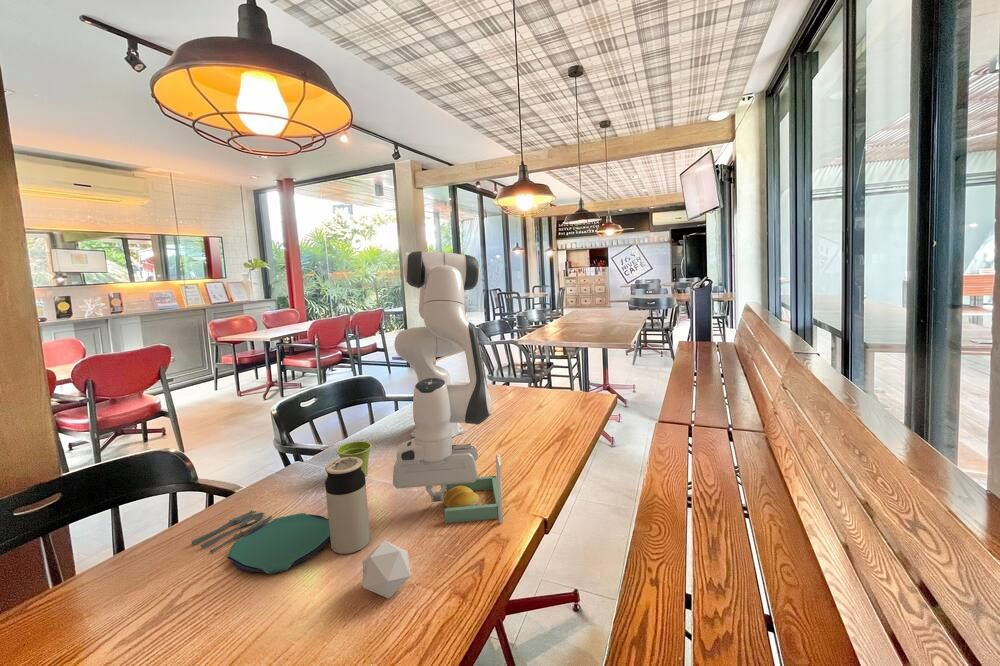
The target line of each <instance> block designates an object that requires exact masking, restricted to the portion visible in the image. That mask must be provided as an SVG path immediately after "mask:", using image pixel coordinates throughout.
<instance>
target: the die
mask: <svg viewBox="0 0 1000 666" xmlns="http://www.w3.org/2000/svg"><path fill="white" fill-rule="evenodd" d="M361 562H362V582H363V583H362V586H363V587H362V588H364V589H366V590H368V591H370V592H373V593H374V594H377V595H379V596H381V597H384V598H386V599H388V600H389V599H391V597H392V596H393V595H394V594H396V592H398V590H399V589H400V588H401V587H402V586H403V585H404V584H405V583H406V582H407V581H408V580H409V579H410V578H411V577H412V575H411V569H410V568H411V567H410V560H409V551H408V550H405V549H404V548H402V547H399V546H397V545H395V544H393V543H391V542H389V541H387V540H385V539H384V540H383V541H381V542H380V543H379V544H378V545H377V547H375V548H374V549H373V550H372V551H371V552H370V553H369V554H368V555H367V556H365V558H364V559H363V560H362V561H361Z"/></svg>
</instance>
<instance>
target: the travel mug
mask: <svg viewBox="0 0 1000 666" xmlns="http://www.w3.org/2000/svg"><path fill="white" fill-rule="evenodd" d="M362 463H363V461H362V460H361V459H360V458H357V457H344V458H340V457H339V458H337V459H333V460H331V461H330V462H328V463H327V464H325V466H324V471H325V472H326V475H327V477H326V478H325V481H324V485H325V487H324V488H325V497H326V498H325V499H326V507H327V516H328V518H327V519H329V529H330V545H331V550H332V551H333V552H335V553H336V554H340V555H342V554H344V555H345V554H352V553H356V552H358V551H359V550H361V549H364V548H365V547H366V546H367V545H368V544H369V543H370V541H371V531H370V530H371V529H370V519H369V507H368V506H369V505H368V496H367V495H368V492H367V484H366V483H367V482H366V477H365V474H364V473H363V471H362V470H361V465H362Z"/></svg>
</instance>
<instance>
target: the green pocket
mask: <svg viewBox="0 0 1000 666" xmlns="http://www.w3.org/2000/svg"><path fill="white" fill-rule="evenodd" d="M501 461H502V460H501V455H500V454H496V455H495V467H496V468H495V470H496V471H495V472H496V475H491V476H490V475H489V476H477V480H476V481H475V482H472V483H460V484H447V489H446V490H445V492H446V493H447V492H448V491H449V490H450V489H452V488H454V487H456V486H466V487H468V488H470V489H471V490H472V491H473V492H475V491H484V490H492V494H493V499H494V500H493V501H494V503H490V504H489V503H488V504H478V505H477V506H466V507H455V508H447V507H446V508H444V523H445V524H452V523H453V524H455V523H463V522H475V521H485V520H486V521H487V520H495V519H496V520H498V524H500V525H502V524H504V514H503V509H504V508H503V493H502V492H503V490H502V488H503V487H502V479H503V477H502V476H503V475H502V462H501Z"/></svg>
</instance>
